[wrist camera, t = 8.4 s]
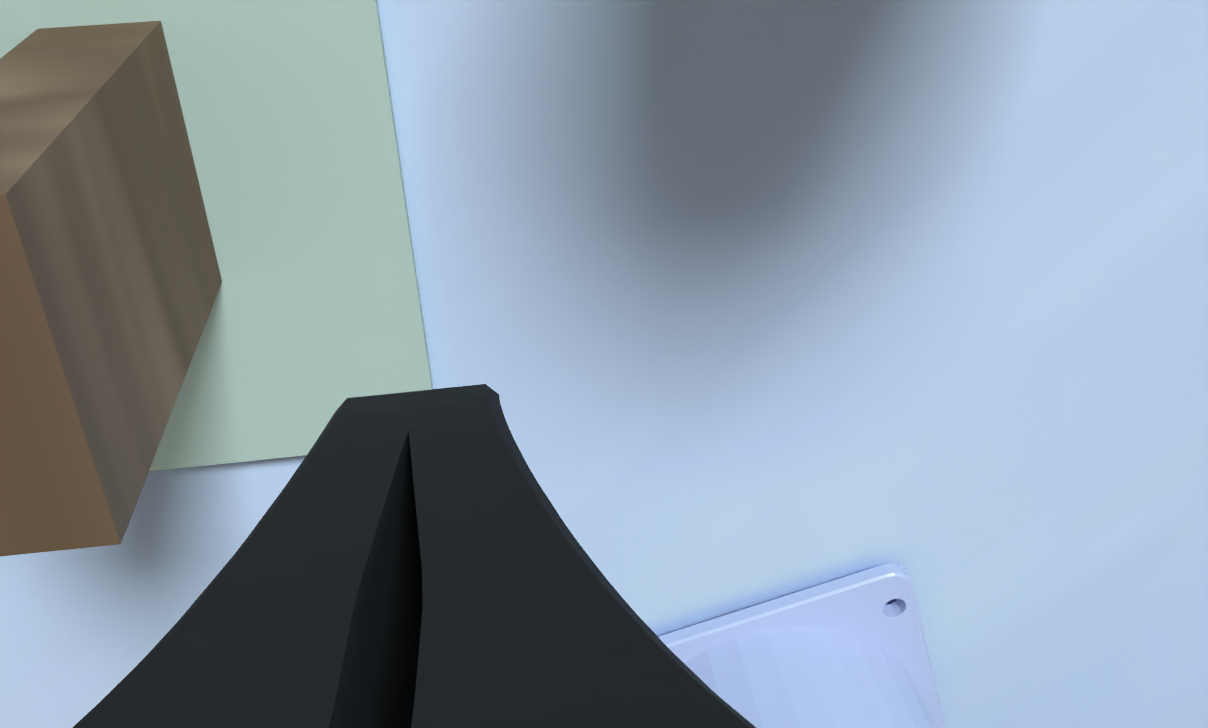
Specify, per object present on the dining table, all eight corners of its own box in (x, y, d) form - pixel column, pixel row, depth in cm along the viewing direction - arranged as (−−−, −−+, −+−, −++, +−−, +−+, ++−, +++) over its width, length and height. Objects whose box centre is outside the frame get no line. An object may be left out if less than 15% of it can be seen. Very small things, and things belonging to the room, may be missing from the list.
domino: (161, 20, 17) (5, 194, 11) (222, 281, 19) (120, 543, 13) (37, 28, 17) (-189, 209, 11) (113, 290, 19) (-39, 560, 13)
